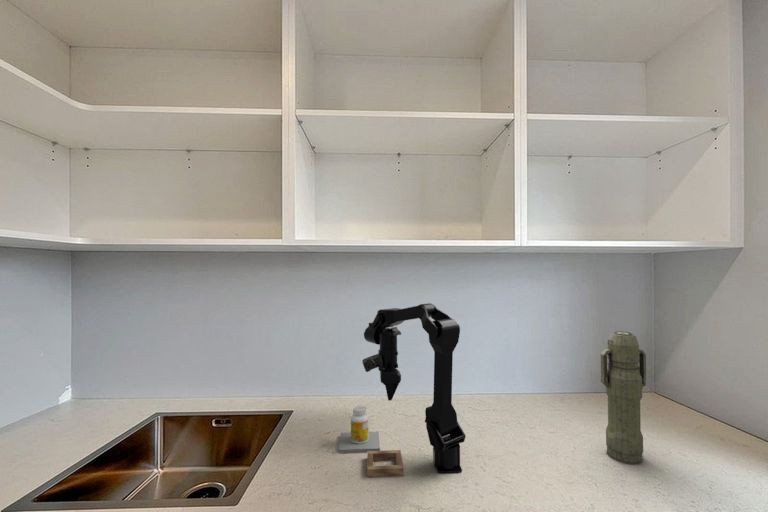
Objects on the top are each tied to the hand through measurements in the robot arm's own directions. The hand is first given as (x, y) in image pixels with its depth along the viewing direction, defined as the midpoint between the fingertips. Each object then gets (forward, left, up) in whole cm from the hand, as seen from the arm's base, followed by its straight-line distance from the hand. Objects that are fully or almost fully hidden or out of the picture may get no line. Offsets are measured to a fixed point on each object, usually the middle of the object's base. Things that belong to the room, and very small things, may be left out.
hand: (388, 395), depth 125 cm
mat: (+10, +7, -12) cm, 17 cm away
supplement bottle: (+9, +7, -11) cm, 16 cm away
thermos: (-65, +20, -12) cm, 70 cm away
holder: (+3, +21, -12) cm, 24 cm away
